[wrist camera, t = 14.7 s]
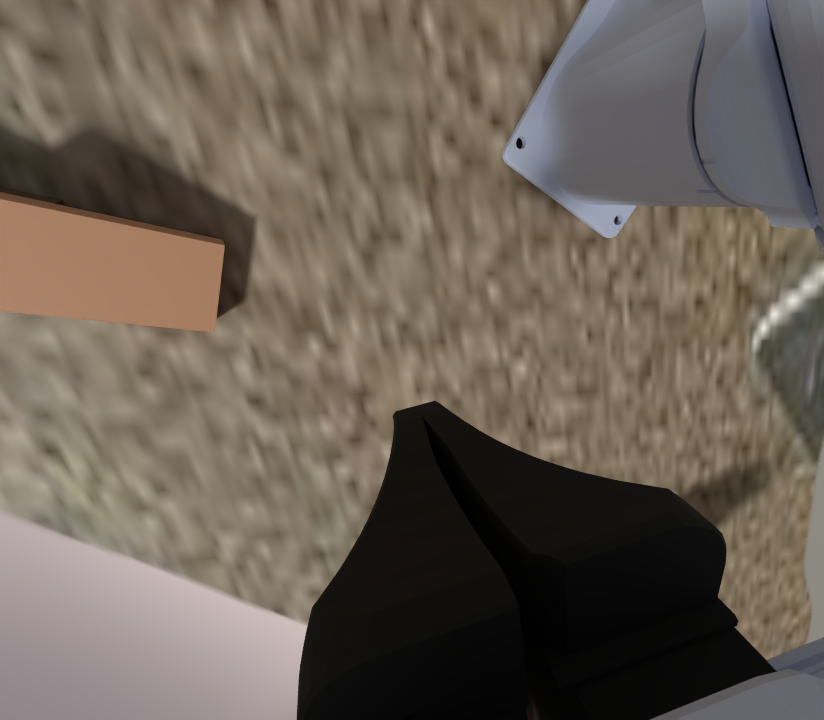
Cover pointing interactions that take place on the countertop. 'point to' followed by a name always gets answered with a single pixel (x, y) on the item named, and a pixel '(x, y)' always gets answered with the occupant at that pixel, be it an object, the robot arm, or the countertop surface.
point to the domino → (105, 267)
